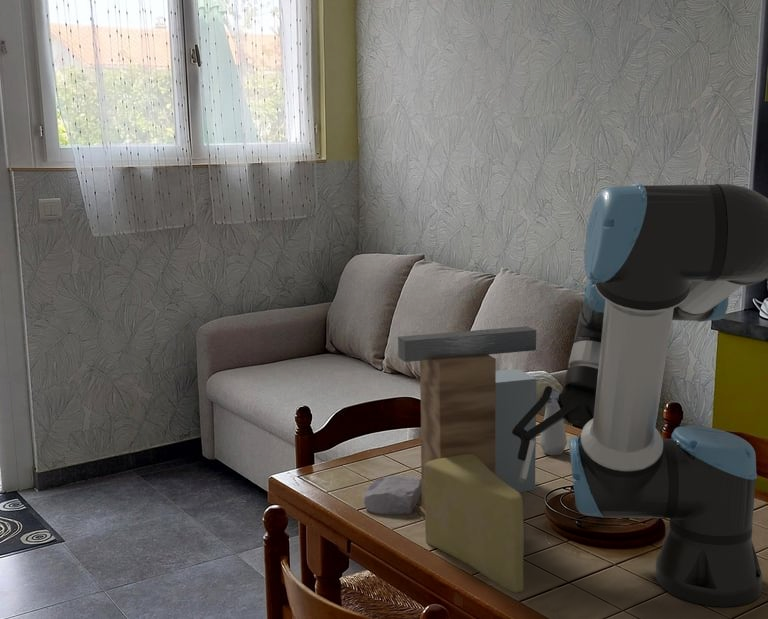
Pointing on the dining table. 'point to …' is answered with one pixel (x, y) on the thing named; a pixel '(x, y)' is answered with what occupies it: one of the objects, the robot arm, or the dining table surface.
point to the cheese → (475, 518)
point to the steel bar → (466, 343)
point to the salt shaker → (553, 433)
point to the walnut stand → (457, 410)
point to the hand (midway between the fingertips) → (563, 493)
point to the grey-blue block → (510, 408)
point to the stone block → (393, 495)
